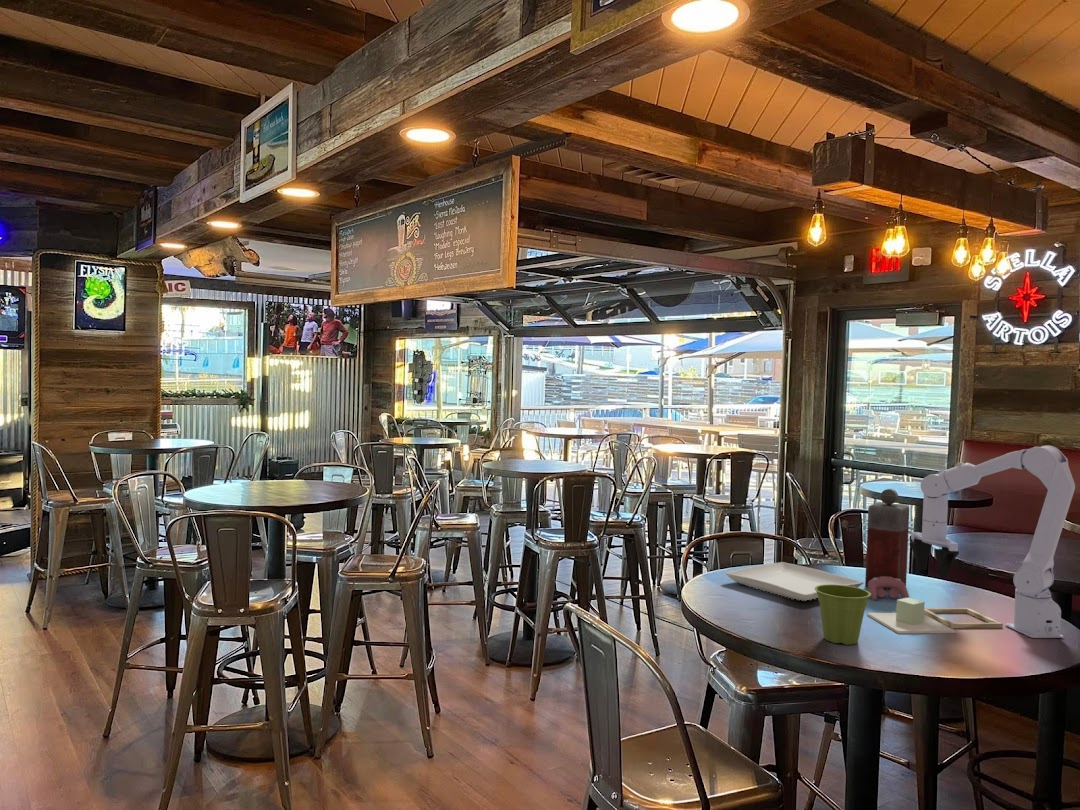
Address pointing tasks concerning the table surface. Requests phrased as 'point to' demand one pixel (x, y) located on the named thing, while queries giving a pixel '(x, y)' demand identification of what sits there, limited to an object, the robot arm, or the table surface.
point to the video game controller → (887, 582)
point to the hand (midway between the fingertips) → (932, 573)
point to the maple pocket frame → (990, 624)
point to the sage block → (910, 611)
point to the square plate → (789, 579)
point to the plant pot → (842, 612)
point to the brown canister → (887, 539)
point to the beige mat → (902, 628)
